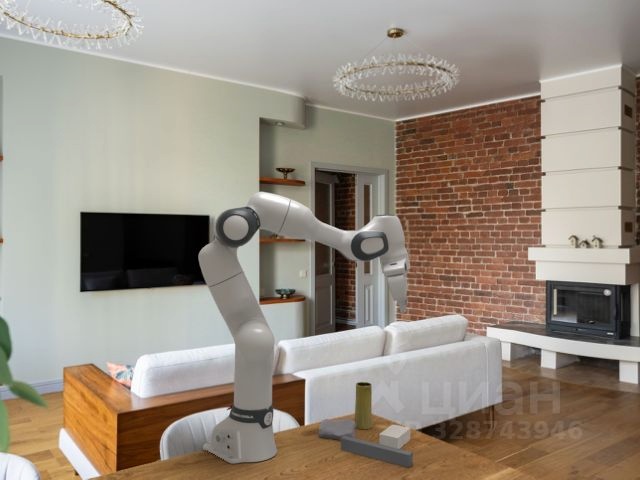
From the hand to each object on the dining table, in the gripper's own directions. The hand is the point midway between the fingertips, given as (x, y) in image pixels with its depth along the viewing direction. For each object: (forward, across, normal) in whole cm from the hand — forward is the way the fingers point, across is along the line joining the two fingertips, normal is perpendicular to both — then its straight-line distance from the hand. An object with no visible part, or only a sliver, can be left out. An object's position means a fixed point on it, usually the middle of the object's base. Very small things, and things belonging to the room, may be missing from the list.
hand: (404, 309), depth 169 cm
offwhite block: (+40, +4, -11) cm, 42 cm away
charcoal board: (+38, +16, -15) cm, 44 cm away
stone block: (+37, +2, -29) cm, 47 cm away
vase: (+39, -8, -22) cm, 45 cm away
